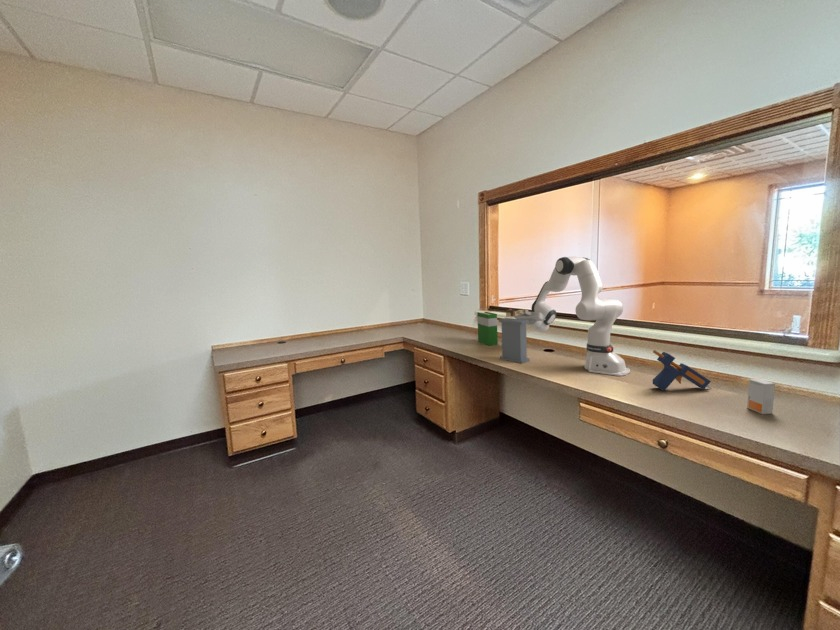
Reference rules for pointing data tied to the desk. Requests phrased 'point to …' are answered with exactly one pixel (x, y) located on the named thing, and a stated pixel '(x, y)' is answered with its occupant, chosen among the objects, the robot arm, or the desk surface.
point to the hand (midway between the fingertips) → (522, 311)
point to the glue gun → (677, 373)
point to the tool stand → (514, 340)
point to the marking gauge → (514, 312)
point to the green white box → (487, 328)
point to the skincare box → (761, 396)
